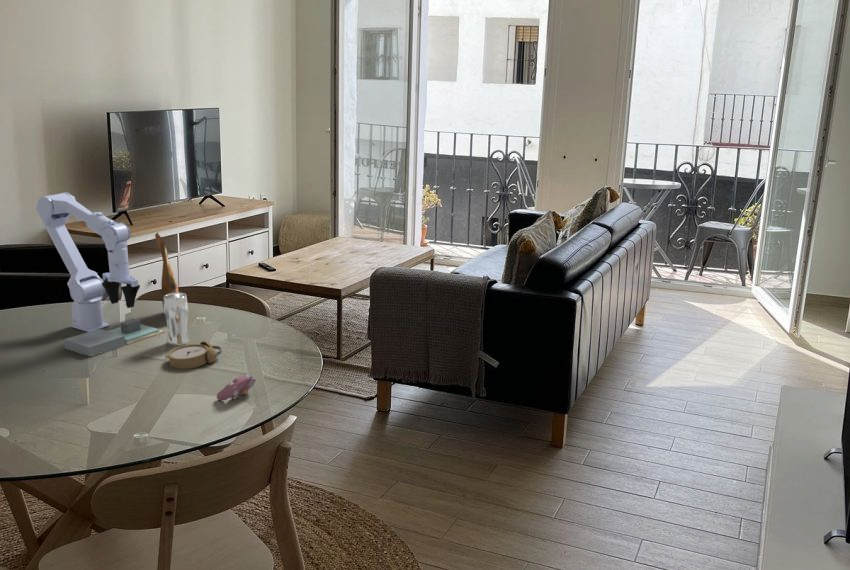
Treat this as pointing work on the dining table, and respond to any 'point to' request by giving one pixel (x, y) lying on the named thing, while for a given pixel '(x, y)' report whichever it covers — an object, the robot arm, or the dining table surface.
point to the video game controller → (236, 387)
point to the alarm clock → (193, 355)
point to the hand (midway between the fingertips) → (122, 305)
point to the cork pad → (145, 337)
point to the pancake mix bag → (166, 271)
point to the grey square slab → (94, 342)
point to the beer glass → (176, 318)
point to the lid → (133, 330)
